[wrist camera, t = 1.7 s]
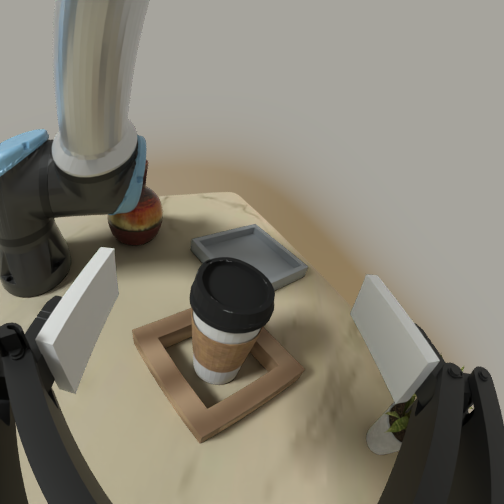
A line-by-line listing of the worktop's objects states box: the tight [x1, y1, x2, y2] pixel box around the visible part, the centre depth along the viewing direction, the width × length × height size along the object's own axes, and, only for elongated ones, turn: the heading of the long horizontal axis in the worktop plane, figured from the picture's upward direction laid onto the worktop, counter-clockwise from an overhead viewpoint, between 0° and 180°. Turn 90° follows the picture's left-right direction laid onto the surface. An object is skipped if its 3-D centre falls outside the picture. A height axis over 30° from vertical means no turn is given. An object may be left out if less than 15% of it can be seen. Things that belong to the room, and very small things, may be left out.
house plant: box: [366, 355, 472, 455], centre depth 24 cm, size 14×14×16 cm
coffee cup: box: [190, 257, 275, 385], centre depth 30 cm, size 8×8×15 cm
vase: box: [108, 160, 163, 245], centre depth 49 cm, size 11×11×15 cm
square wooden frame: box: [132, 308, 305, 443], centre depth 34 cm, size 16×16×3 cm
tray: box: [191, 224, 308, 290], centre depth 53 cm, size 16×16×2 cm
